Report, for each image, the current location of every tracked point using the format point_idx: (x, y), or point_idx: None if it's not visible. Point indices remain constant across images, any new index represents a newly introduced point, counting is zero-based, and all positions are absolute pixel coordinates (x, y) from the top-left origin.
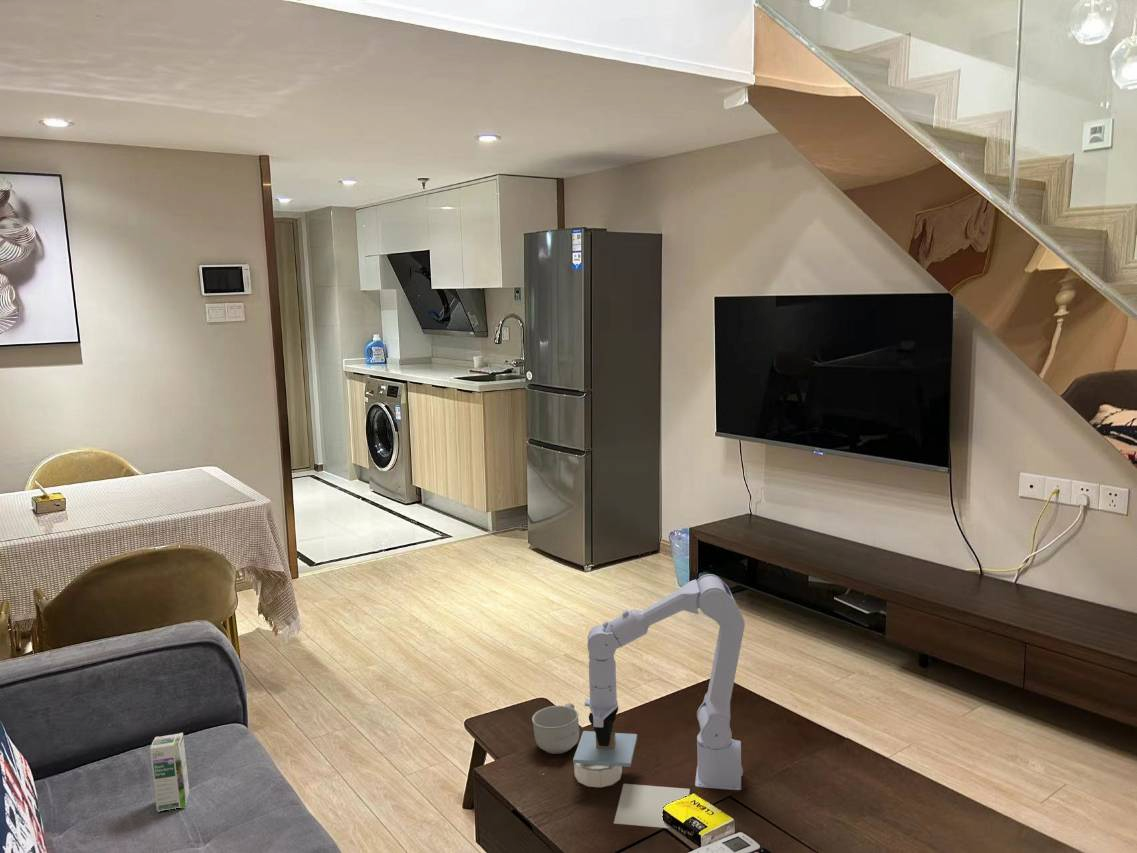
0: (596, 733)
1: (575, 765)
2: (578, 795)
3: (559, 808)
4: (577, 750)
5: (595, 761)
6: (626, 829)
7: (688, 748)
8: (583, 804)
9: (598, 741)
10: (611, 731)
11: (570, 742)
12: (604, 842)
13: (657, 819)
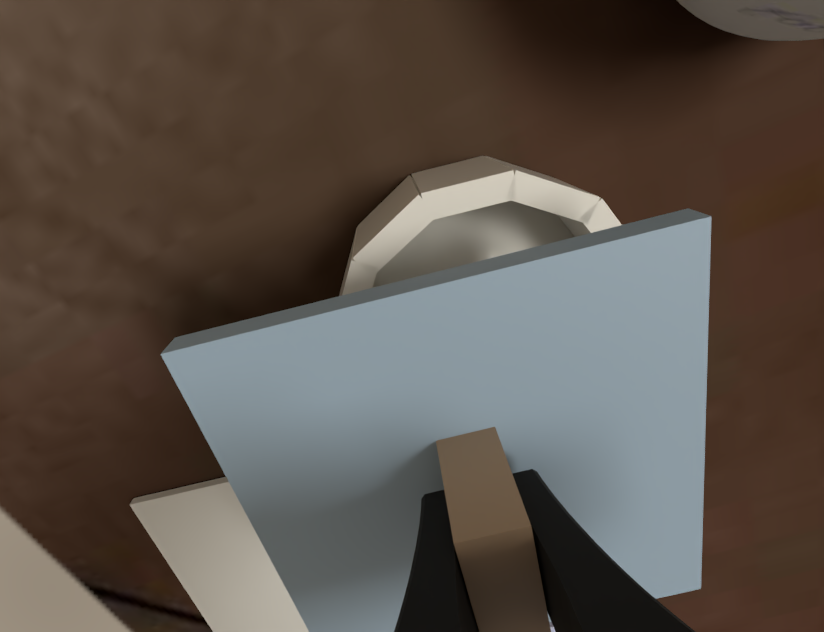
0: (399, 618)
1: (394, 212)
2: (253, 273)
3: (84, 230)
4: (326, 323)
5: (246, 505)
6: (141, 541)
7: (780, 537)
8: (194, 330)
9: (420, 528)
10: (556, 629)
11: (711, 13)
12: (8, 509)
13: (250, 608)
